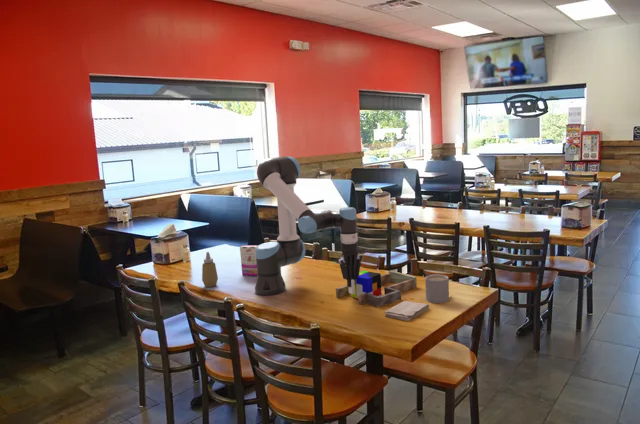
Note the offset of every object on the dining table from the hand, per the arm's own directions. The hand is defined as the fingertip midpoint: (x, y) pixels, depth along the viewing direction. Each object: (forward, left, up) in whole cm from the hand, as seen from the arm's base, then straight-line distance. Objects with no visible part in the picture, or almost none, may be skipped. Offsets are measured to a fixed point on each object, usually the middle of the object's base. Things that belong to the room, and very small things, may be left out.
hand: (351, 293), depth 239 cm
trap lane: (+16, 0, -3) cm, 16 cm away
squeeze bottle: (-35, +71, -3) cm, 80 cm away
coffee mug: (+28, -27, -3) cm, 39 cm away
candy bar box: (-9, +72, -3) cm, 73 cm away
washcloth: (+5, -29, -4) cm, 30 cm away
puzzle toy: (+9, 0, -3) cm, 9 cm away
